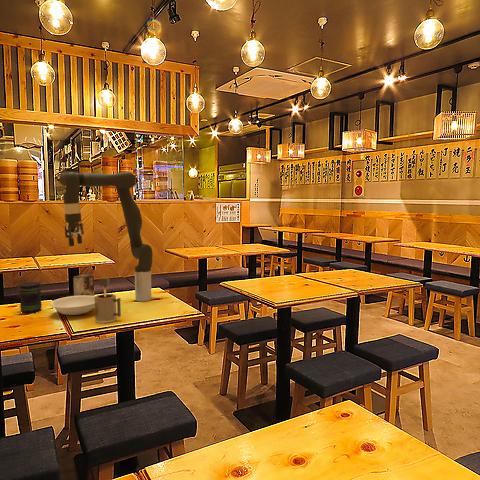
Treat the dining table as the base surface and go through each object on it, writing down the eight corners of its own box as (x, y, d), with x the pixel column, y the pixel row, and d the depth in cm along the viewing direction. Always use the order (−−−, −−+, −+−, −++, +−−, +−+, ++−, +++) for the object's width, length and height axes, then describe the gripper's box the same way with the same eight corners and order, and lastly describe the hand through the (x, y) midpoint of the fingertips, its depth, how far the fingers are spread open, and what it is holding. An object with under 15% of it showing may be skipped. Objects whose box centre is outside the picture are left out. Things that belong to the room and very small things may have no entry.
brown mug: (100, 317, 194) (99, 293, 193) (123, 317, 194) (123, 294, 193) (92, 323, 185) (91, 298, 183) (117, 323, 184) (116, 298, 183)
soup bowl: (52, 309, 208) (52, 297, 207) (100, 305, 216) (99, 293, 216) (48, 322, 186) (47, 309, 185) (101, 317, 194) (100, 304, 193)
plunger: (102, 312, 192) (101, 276, 190) (113, 312, 192) (112, 276, 190) (97, 315, 186) (96, 278, 184) (109, 315, 186) (108, 279, 184)
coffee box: (88, 301, 226) (87, 273, 224) (95, 302, 222) (94, 275, 220) (73, 304, 218) (72, 276, 217) (80, 306, 214) (79, 277, 213)
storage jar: (45, 311, 205) (44, 283, 203) (26, 315, 197) (24, 286, 195) (36, 307, 211) (34, 280, 209) (17, 312, 203) (15, 284, 201)
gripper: (72, 212, 200) (75, 243, 202) (57, 214, 186) (61, 247, 188) (86, 211, 200) (89, 242, 202) (73, 213, 186) (76, 246, 188)
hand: (76, 244), depth 195 cm, fingers open, 8 cm apart
